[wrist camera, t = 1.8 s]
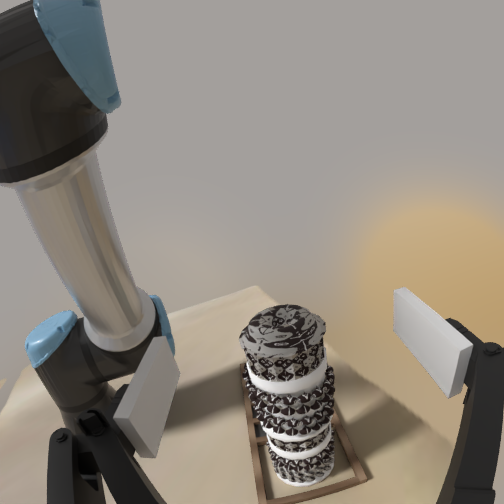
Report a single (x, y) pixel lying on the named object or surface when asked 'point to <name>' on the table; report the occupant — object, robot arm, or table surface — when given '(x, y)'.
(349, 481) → the brown flat rectangular frame
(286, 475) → the decorative candle
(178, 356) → the table surface
